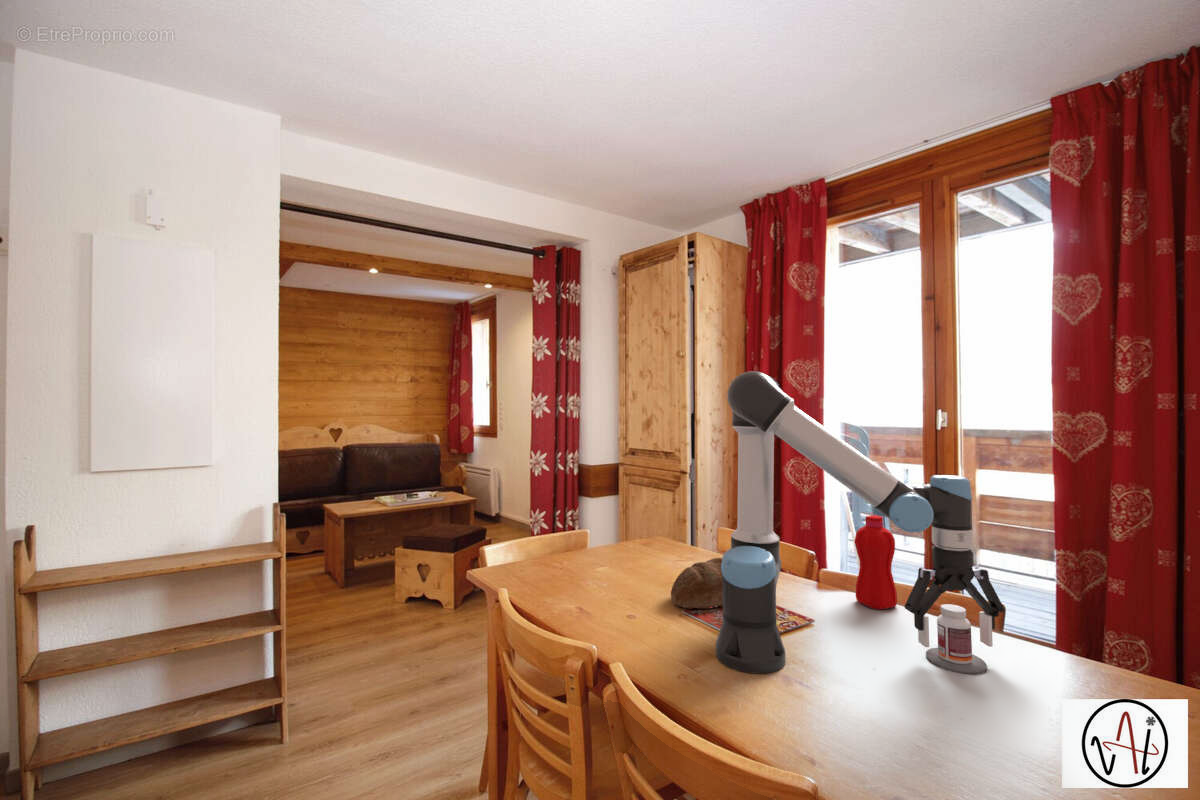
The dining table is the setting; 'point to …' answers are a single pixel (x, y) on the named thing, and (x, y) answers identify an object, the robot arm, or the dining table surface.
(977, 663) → the coaster
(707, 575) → the bread
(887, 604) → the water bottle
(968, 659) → the pill bottle
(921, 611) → the robot arm
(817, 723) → the dining table surface
